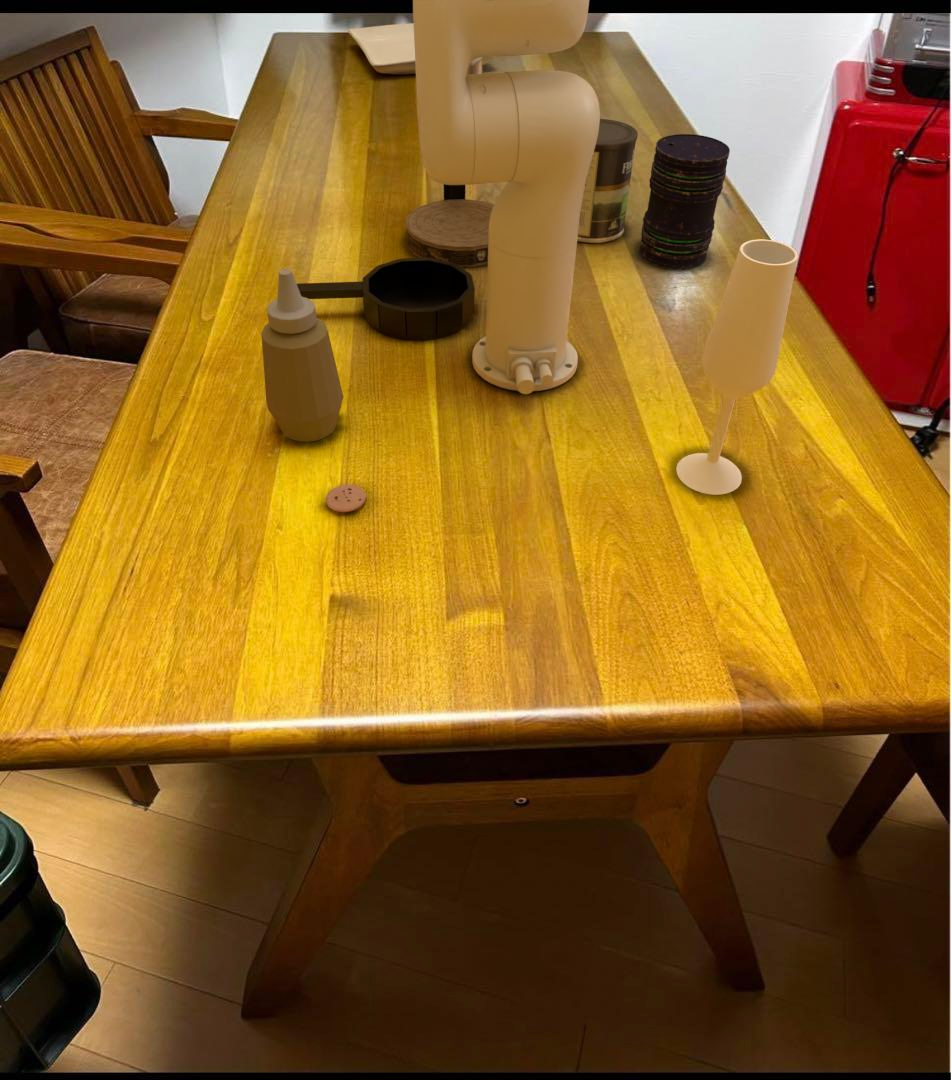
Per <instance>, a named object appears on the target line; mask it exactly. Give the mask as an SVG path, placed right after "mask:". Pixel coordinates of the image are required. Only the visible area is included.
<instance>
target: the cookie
mask: <svg viewBox="0 0 951 1080" xmlns="http://www.w3.org/2000/svg"><path fill="white" fill-rule="evenodd" d="M366 500H367V494H366V491H365V490H364V489H363V488H362V487H360V486H358V485H356V484H348V483H347V484H341V485H338V486H335V487H333V488H332V489H330V490H329V491H328V492H327V494H326V496H325V503H326V506H327V507H328V508H329V509H330V510H333V511H335V512H337V513H349V512H353V511H355V510H359V509H361V507H362V506H363V505H364V504H365V503H366Z"/></svg>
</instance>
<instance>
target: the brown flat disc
mask: <svg viewBox="0 0 951 1080" xmlns="http://www.w3.org/2000/svg"><path fill="white" fill-rule="evenodd" d="M494 204H495V203H490V202H486V201H483V200H476V199H475V200H474V199H468V198H465V199H453V200H444V199H443V200H437V201H433V202H429V203H426V204H423V205H421V206H419V207H417V208H415V209H414V210H412V211H410V213H409V215H408V216H407V217H406V219H405V222H406V226H405V227H406V244H407V245H406V246H407V248H408V250H409V251H410V252H411V254H412V255H414V256H415V257H416V258H434V259H439V260H443V261H447V262H452V263H454V264H457V265H458V266H460V267H461V268H475V267H481V266H488V239H489V237H488V234H489V220H490V215H491V212H492V209H493V206H494Z"/></svg>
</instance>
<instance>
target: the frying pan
mask: <svg viewBox="0 0 951 1080" xmlns="http://www.w3.org/2000/svg"><path fill="white" fill-rule="evenodd" d="M296 284H297V286H298V289H299V292H300V294H301V296H302V297H305V298H308V299H310V300H331V299H332V300H333V299H356V298H357V299H358V298H362V302H363V314H364V318H365V320H366V322H367V323H368V324H369V326H371V328H372V329H374V330H375V331H377V332H379V333H380V334H383V335H385V336H388V337H391V338H395V339H400V340H406V341H429V340H437V339H442V338H445V337H449V336H452V335H454V334H457V332H459V331H461V330H463V329H464V328H465V327H467V325H469V323H470V322H471V321H472V318H473V315H474V314H475V284H474V279H473V274H471V273H470V272H469V271H467V270H466V269H464V267H460V266H458V265H457V264H454V263H452V262H447V261H443V260H439V259H434V258H419V257H403V258H396V259H394V260H391V261H387V262H384V263H381V264H378V265H376V266H375V267H374V268H372V269H371V270H370V271H369V272H368V273H367V274H366V275H365V276H363V277H362V281H361V280H360V281H338V282H337V281H334V282H333V281H332V282H302V283H300V282H299V283H296Z"/></svg>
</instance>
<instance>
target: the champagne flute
mask: <svg viewBox="0 0 951 1080" xmlns="http://www.w3.org/2000/svg"><path fill="white" fill-rule="evenodd" d="M798 259H799V253H798V252H797V250H796V249H794V248H793V247H792V246H790V245H789V244H787V243H785V242H781V241H777V240H772V239H764V238H762V239H761V238H760V239H759V238H758V239H757V238H756V239H751V240H747V241H745V242H743V243H742V244H741V245H740V247H739V249H738V252H737V255H736V259H735V260H734V264H733V267H732V269H731V272H730V275H729V278H728V281H727V284H726V286H725V289H724V293H723V296H722V298H721V301H720V304H719V307H718V310H717V312H716V316H715V318H714V321H713V324H712V327H711V330H710V333H709V336H708V338H707V341H706V344H705V347H704V350H703V353H702V356H701V364H700V365H701V369H702V372H703V374H704V376H705V378H706V380H707V382H708V383H709V384H710V385H711V387H713V389H714V390H715V391H716V392H717V393H718V394H719V395H720V396H722V400H721V403H720V407H719V411H718V414H717V419H716V422H715V425H714V430H713V434H712V437H711V441H710V445H709V449H708V453H706V452H697V453H691V454H689V455H686V456H684V457H682V458H681V459H680V460H679V461H678V463H677V465H676V469H675V470H676V471H675V472H676V475H677V478H678V479H679V480H680V481H681V483H682V484H684V485H685V486H686V487H688V488H689V489H691V490H693V491H695V492H699V493H701V494H705V495H713V496H717V495H725V494H730V493H731V492H734V491H735V490H737V489H738V488H739V487H740V485H741V484H742V481H743V480H742V479H743V476H742V472H741V470H740V469H739V467H738V466H737V465H736V464H735V463H733V462H732V461H731V460H729V459H728V458H725V457H724V456H721V453H722V449H723V446H724V443H725V439H726V436H727V431H728V429H729V424H730V421H731V416H732V414H733V410H734V407H735V403H736V400H738V399H742V398H744V397H747V396H750V395H753V394H755V393H757V392H759V391H761V390H762V389H763V388H765V387H766V386H767V385H768V384H769V383H770V382H771V381H772V380H773V379H774V377H775V374H776V371H777V368H778V367H777V366H778V361H779V356H780V352H781V348H782V347H781V346H782V341H783V335H784V330H785V325H786V320H787V315H788V310H789V306H790V300H791V296H792V295H791V294H792V289H793V284H794V280H795V274H796V269H797V264H798Z"/></svg>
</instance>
